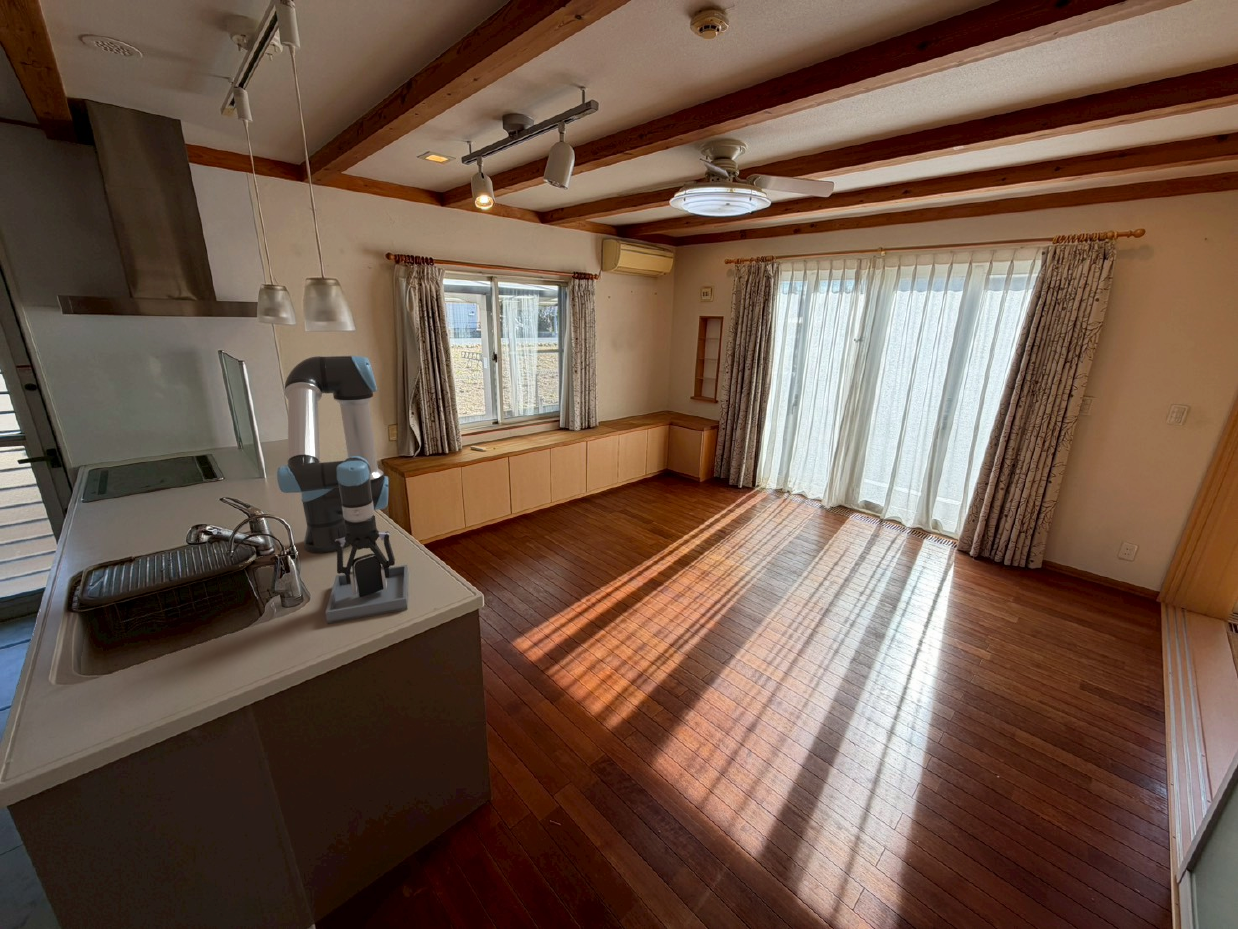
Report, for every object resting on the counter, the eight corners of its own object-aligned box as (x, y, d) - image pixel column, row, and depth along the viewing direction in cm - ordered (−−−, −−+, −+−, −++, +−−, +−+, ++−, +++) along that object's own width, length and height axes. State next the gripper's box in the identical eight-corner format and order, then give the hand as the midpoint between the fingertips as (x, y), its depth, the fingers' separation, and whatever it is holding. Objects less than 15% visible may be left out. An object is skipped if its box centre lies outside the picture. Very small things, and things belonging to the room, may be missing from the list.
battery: (380, 584, 143) (375, 550, 140) (385, 589, 141) (380, 554, 137) (354, 593, 139) (349, 558, 135) (359, 599, 136) (353, 563, 132)
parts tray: (337, 585, 145) (336, 575, 144) (408, 574, 152) (407, 564, 151) (327, 624, 128) (325, 612, 127) (407, 609, 135) (406, 598, 134)
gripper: (314, 527, 125) (328, 603, 133) (399, 517, 133) (407, 590, 140) (319, 516, 132) (332, 589, 139) (399, 507, 139) (408, 576, 147)
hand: (370, 589), depth 140 cm, fingers closed on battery, 7 cm apart
